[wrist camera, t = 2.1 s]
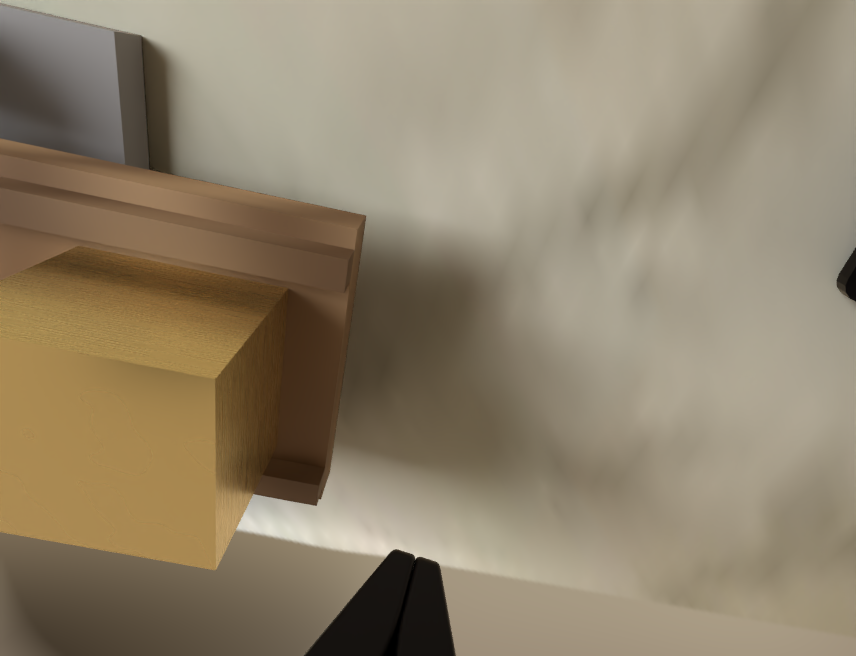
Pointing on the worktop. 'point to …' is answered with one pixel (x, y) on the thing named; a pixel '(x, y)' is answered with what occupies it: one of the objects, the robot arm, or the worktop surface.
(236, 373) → the block
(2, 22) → the pivot stand
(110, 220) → the balance beam
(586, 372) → the worktop surface
